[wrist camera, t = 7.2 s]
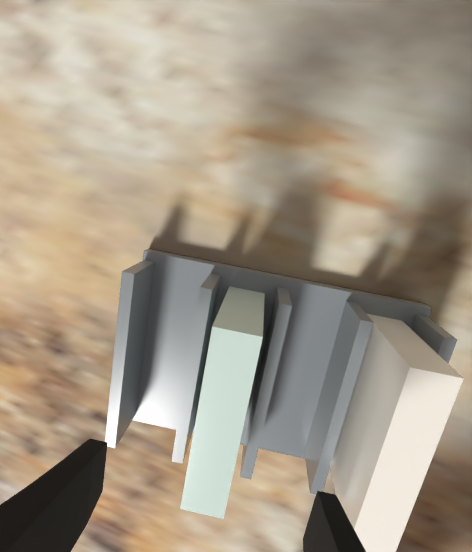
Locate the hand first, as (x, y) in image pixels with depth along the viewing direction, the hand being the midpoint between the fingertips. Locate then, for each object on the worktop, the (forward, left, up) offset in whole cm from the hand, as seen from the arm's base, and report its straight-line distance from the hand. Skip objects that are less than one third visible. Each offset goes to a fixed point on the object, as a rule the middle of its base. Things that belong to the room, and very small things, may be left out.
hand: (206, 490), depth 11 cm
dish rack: (0, -2, -10) cm, 10 cm away
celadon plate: (0, 0, -9) cm, 9 cm away
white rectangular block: (0, -8, -9) cm, 12 cm away
